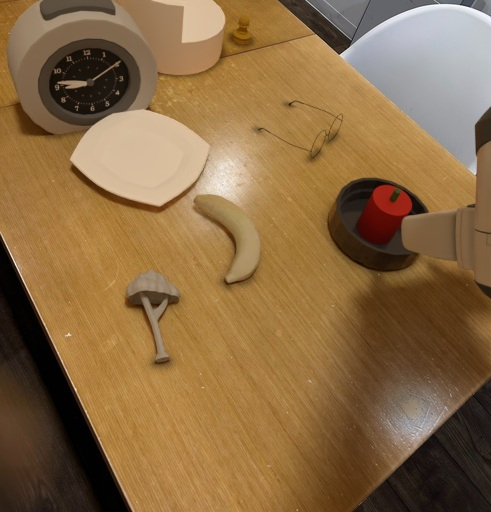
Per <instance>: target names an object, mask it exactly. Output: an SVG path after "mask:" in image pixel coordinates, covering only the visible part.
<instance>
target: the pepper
mask: <svg viewBox="0 0 491 512" xmlns="http://www.w3.org/2000/svg"><path fill="white" fill-rule="evenodd" d="M411 208H412V202H411V199H410V198H409V196H408V195H407V194H406V193H405V192H404V191H402V190H401V189H399V188H397V187H394V186H390V185H382V186H379V187H377V188H376V189H375V190H374V192H373V193H372V195H371V197H370V199H369V201H368V203H367V204H366V206H365V208H364V210H363V212H362V214H361V215H360V217H359V219H358V221H357V230H358V232H359V234H360V235H361V236H362V237H363V238H364V239H365V240H367V241H368V242H371V243H373V244H379V245H381V244H386V243H388V242H390V241H391V239H392V238H393V236H394V235H395V233H396V232H397V230H398V229H399V227H400V226H401V224H402V220H403V218H404V217H406V216H407V215H408V214H409V212H410V211H411Z"/></svg>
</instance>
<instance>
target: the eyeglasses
mask: <svg viewBox="0 0 491 512" xmlns="http://www.w3.org/2000/svg"><path fill="white" fill-rule="evenodd" d="M295 102H296V103H298V104H302V105H306V106H309V107H312V108H314V109H317V110H319V111H323V112H325V113H327V114H329V115H331V116H332V117H334V118H335V119H334V120H333V121H332V124H331V126H330V128H329V131H328V133H327V131H326V130H325V129H324V130H321V131H320V132H319V133H318V134H317V135H316V138H315V139H314V142H313V144H312V146H311V149H310V150H309V149H306V148H303V147H300V146H296V145H294V144H292V143H289V142H287V141H286V140H284V139H282V138H281V137H279V136H277V135H276V134H274V133H272V132H271V131H269V130H267V129H266V128H264V127H260V128H258V129H257V130H258V131H261V130H264V131H265V132H267V133H269V134H271V135H272V136H274V137H276V138H278V139H280V140H281V141H284V143H287V144H288V145H291V146H292V147H295V148H297V149H301V150H305V151H308V152H310V153H312V150H313V147H314V145H315V143H316V140H317V139H318V137H319V136H320V134H321V133H323V132H325V135H323V138H324V140H323V142H322V145H321V147H320V149H319V150H318V152H317V153H316V154H315V155H314V156H312V155H310V157H311V158H313V159H314V158H315V157H316V156H318V154H319V153H320V151H321V150H322V148H323V146H324V143H325V141H326V138H327V140H328V141H329V142H330V141H333V139H334V138H335V137H336V136H337V134H338V132H339V131H340V128H341V126H342V123H343V121H344V115H343V114H341V113H339V114H338V115H337V116H335V115H334V114H332V113H330V112H328V111H326V110H324V109H321V108H318V107H316V106H312V105H310V104H308V103H304V102H302V101H298V100H293V101H291V102H289V103H288V106H290V105H292V104H293V103H295ZM339 116H341V119H340V118H338V117H339ZM336 120H339V121H341V122H340V126H339V127H338V129H337V131H336V133H335V135H334V136H333V137H332V138H331V139H330V137H329V136H330V134H331V130H332V127H333V125H334V123H335V121H336Z"/></svg>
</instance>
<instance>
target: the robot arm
mask: <svg viewBox="0 0 491 512" xmlns="http://www.w3.org/2000/svg"><path fill="white" fill-rule="evenodd" d="M474 144H475V145H474V147H475V148H474V149H475V156H476V174H475V196H474V197H475V199H474V201H475V202H474V203H471V204H467V205H464V206H459V207H455V208H450V209H449V208H448V209H443V210H438V211H432V212H429V213H425V214H418V215H411V216H406V217H404V218H403V220H402V226H401V234H402V243H403V246H404V247H405V248H406V249H408V250H410V251H413V252H416V253H419V254H420V255H423V256H426V257H430V258H433V259H437V260H441V261H448V262H449V261H450V262H457V267H458V268H459V269H462V270H466V271H473V282H474V283H475V285H476V287H478V289H479V290H480V291H481V292H482V294H483V295H485V296H486V297H487V298H488V299H490V300H491V106H489V107H488V108H487V110H486V111H485V112H484V113H483V114H482V115H481V116H480V118H479V119H478V120H477V122H475V124H474Z"/></svg>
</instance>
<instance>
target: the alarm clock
mask: <svg viewBox="0 0 491 512" xmlns="http://www.w3.org/2000/svg"><path fill="white" fill-rule="evenodd" d="M5 50H6V62H7V68H8V71H9V74H10V78H11V80H12V83H13V86H14V89H15V93H16V96H17V98H18V101H19V103H20V105H21V107H22V110H23V111H24V112H25V114H26V115H27V116H28V117H29V118H30V119H31V121H32V122H33V123H34V124H35V125H37V126H39V127H40V128H42V129H43V130H45V131H46V132H47V133H50V134H53V135H62V134H69V133H75V132H81V131H88V130H89V129H90V128H91V127H92V126H93V125H95V124H96V123H97V122H99V121H100V120H102V119H104V118H105V117H107V116H109V115H111V114H113V113H120V112H124V111H125V112H128V111H135V110H142V109H144V110H147V109H148V108H149V107H150V105H151V103H152V100H153V99H154V96H155V94H156V91H157V85H158V79H159V74H158V73H159V72H158V71H157V63H156V60H155V57H154V55H153V53H152V51H151V48H150V46H149V45H148V43H147V41H146V39H145V38H144V36H143V34H142V32H141V30H140V29H139V27H138V25H137V23H136V22H135V20H134V19H133V18H132V17H131V16H130V15H129V13H128V12H127V11H126V10H125V9H124V8H123V7H121V6H120V5H119V3H117V2H116V1H114V0H38V1H36V2H33V4H31V5H30V6H29V7H28V8H27V9H26V10H24V12H22V13H21V14H20V15H19V17H18V18H17V20H16V22H15V23H14V25H13V26H12V28H11V30H10V32H9V35H8V39H7V43H6V48H5Z"/></svg>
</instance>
